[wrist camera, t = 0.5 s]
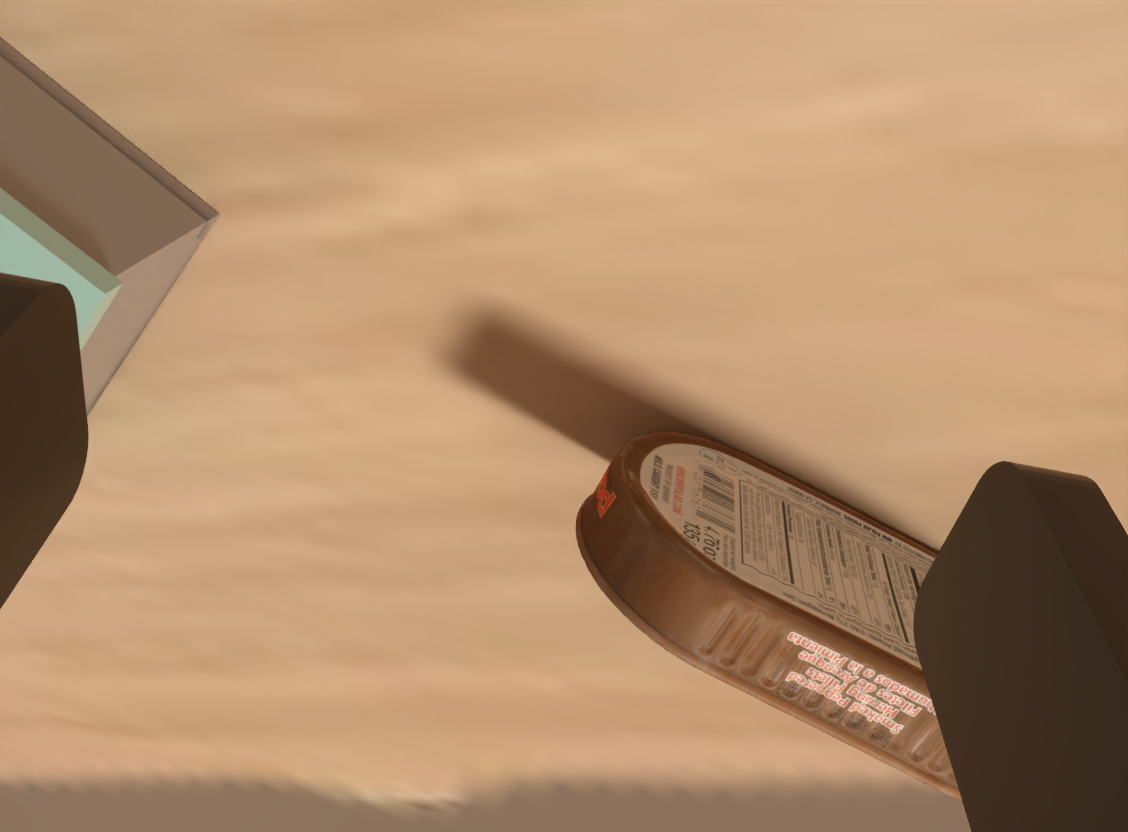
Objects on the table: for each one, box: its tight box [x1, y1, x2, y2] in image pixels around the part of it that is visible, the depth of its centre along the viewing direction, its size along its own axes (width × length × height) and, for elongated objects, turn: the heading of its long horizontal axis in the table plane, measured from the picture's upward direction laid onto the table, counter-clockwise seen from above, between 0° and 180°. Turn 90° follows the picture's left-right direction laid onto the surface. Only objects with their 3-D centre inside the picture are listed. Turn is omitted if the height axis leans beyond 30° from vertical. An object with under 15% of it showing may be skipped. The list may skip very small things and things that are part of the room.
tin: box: [576, 432, 962, 801], centre depth 29 cm, size 15×3×8 cm, turn 64°
